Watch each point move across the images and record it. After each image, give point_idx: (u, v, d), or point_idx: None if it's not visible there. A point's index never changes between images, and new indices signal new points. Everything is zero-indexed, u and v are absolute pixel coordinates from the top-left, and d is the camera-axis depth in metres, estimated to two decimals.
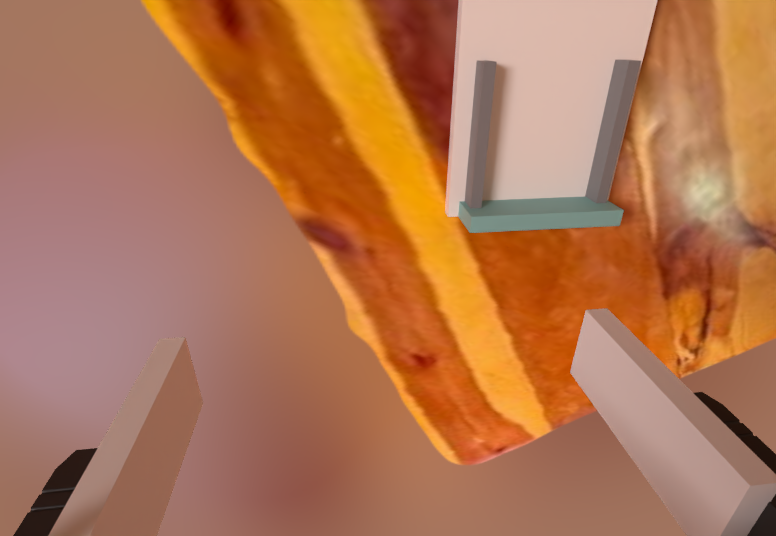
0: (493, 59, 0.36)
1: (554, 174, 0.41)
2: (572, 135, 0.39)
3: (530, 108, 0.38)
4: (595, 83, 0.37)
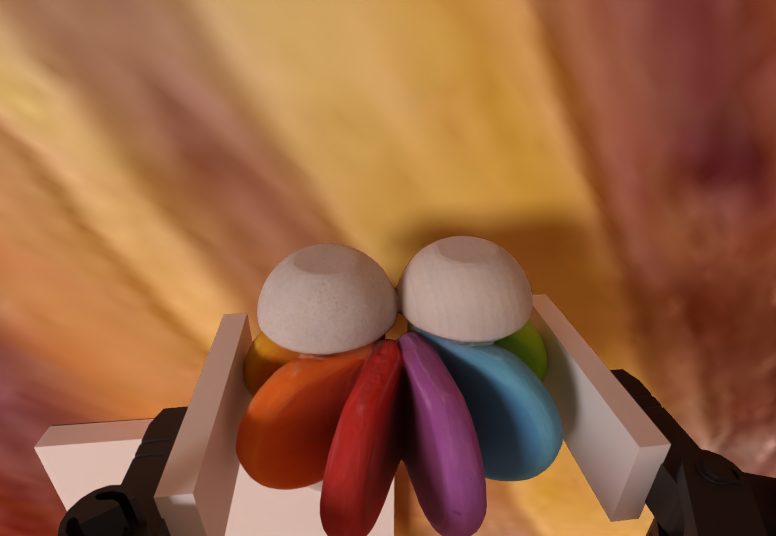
0: None
1: None
2: None
3: None
4: None
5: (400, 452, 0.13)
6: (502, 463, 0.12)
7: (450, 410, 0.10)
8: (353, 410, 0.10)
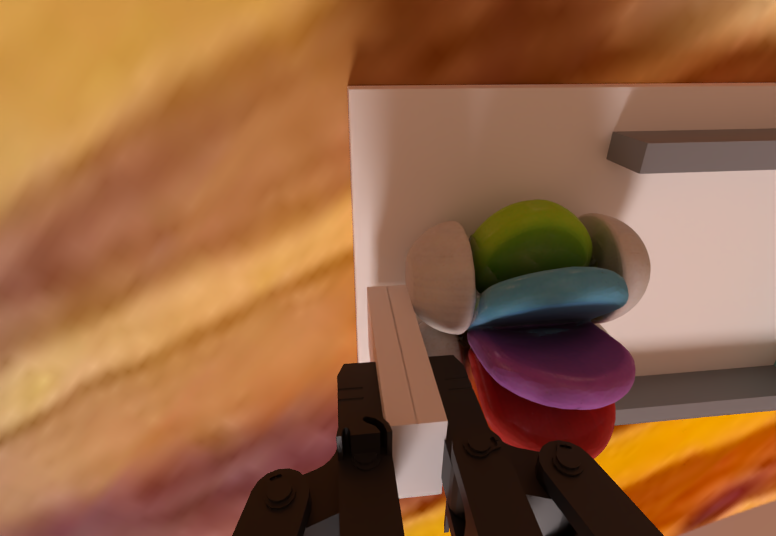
0: None
1: None
2: (731, 215, 0.18)
3: (649, 307, 0.20)
4: (643, 190, 0.17)
5: None
6: (599, 306, 0.13)
7: (500, 377, 0.13)
8: (489, 422, 0.14)
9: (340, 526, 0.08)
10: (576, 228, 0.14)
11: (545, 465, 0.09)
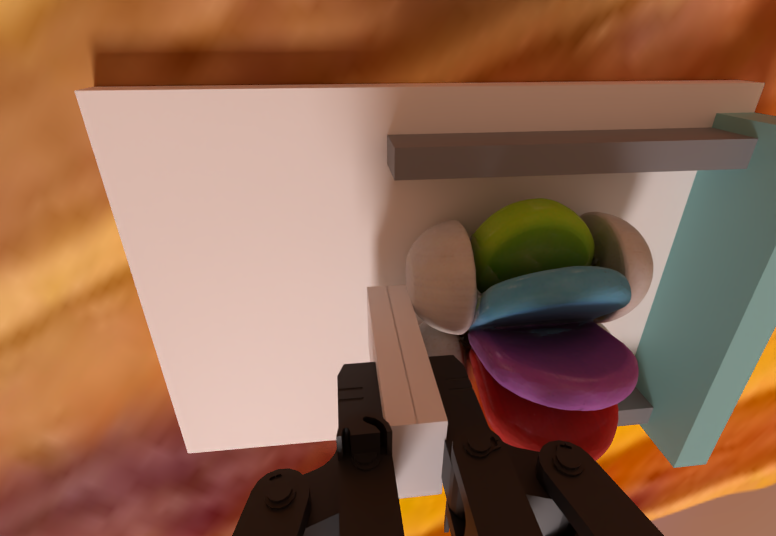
0: None
1: None
2: None
3: None
4: (437, 196, 0.16)
5: None
6: (602, 306, 0.13)
7: (502, 378, 0.13)
8: (491, 423, 0.14)
9: (340, 526, 0.08)
10: (578, 227, 0.14)
11: (545, 465, 0.09)
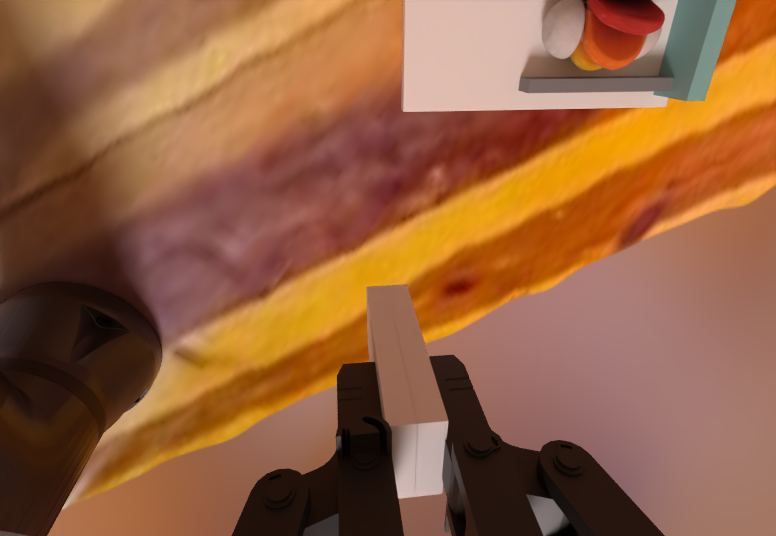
0: (519, 71, 0.35)
1: None
2: None
3: None
4: None
5: None
6: None
7: None
8: (603, 18, 0.29)
9: (340, 526, 0.08)
10: None
11: (546, 465, 0.09)
